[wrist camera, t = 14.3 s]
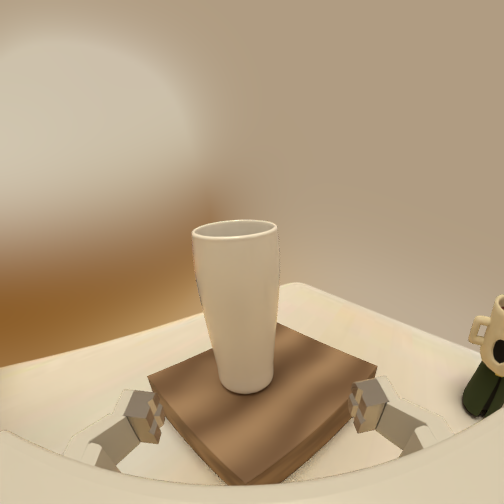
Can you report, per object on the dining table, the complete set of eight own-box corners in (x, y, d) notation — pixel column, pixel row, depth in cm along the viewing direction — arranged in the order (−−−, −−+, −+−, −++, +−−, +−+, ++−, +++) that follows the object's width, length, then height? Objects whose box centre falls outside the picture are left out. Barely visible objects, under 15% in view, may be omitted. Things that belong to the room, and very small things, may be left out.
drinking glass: (258, 351, 30) (251, 216, 26) (294, 384, 24) (297, 227, 20) (202, 370, 27) (180, 227, 23) (230, 412, 21) (208, 243, 17)
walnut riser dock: (158, 407, 27) (147, 376, 26) (271, 349, 38) (270, 319, 37) (249, 504, 15) (245, 483, 14) (368, 398, 27) (377, 366, 25)
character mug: (439, 415, 21) (481, 314, 17) (448, 377, 26) (478, 286, 23) (512, 428, 14) (566, 330, 10) (512, 390, 19) (550, 300, 16)
